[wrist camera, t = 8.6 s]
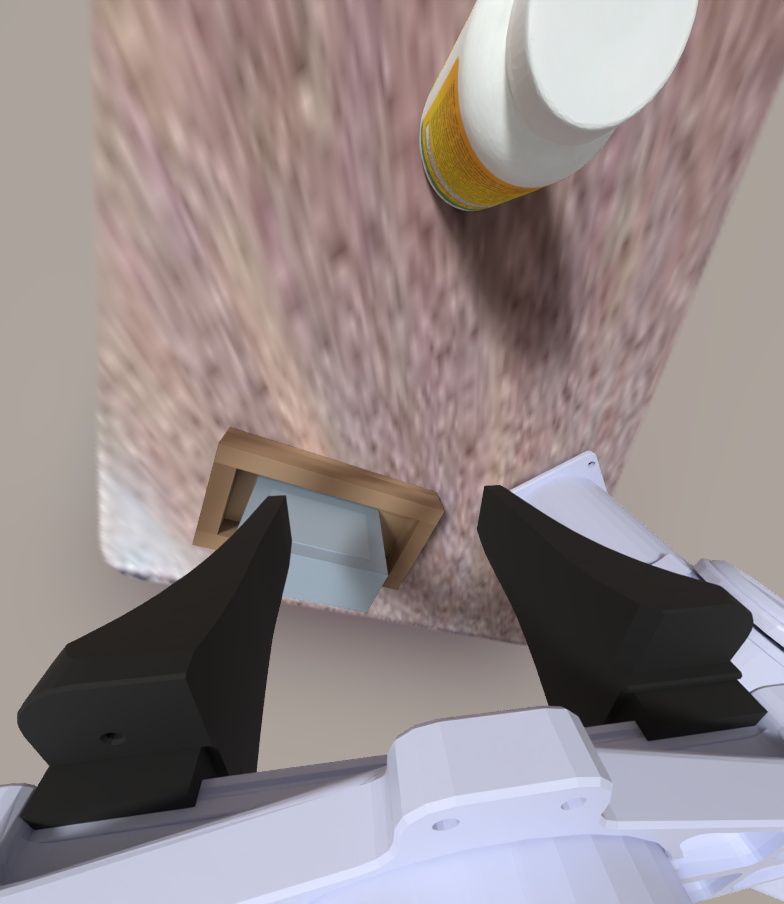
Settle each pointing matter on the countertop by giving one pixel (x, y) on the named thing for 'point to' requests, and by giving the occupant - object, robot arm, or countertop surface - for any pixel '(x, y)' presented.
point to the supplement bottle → (542, 91)
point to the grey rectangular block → (328, 546)
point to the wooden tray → (247, 456)
